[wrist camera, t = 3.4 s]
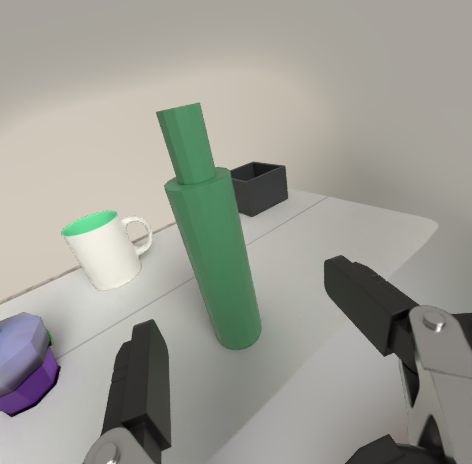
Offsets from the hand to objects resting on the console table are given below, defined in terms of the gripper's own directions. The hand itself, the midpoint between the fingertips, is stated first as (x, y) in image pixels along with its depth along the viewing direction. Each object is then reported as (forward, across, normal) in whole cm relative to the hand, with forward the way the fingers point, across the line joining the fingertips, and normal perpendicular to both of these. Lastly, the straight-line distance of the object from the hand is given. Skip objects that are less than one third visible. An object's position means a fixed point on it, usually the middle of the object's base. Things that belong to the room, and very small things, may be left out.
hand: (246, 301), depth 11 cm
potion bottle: (+13, +23, +15) cm, 31 cm away
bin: (+44, -14, +15) cm, 49 cm away
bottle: (+11, 0, +15) cm, 19 cm away
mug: (+32, +15, +15) cm, 38 cm away
